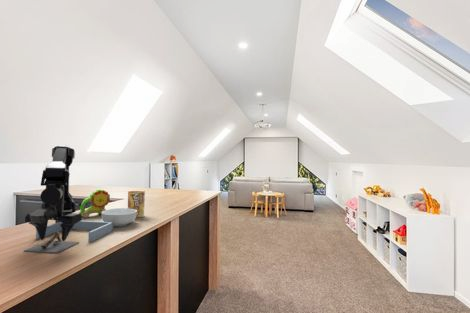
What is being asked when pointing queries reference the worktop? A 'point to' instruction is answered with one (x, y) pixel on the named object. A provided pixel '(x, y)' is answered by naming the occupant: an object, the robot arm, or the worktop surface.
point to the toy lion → (95, 203)
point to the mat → (52, 247)
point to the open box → (83, 228)
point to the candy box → (136, 201)
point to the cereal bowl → (119, 216)
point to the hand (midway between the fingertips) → (53, 240)
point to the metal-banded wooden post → (52, 241)
